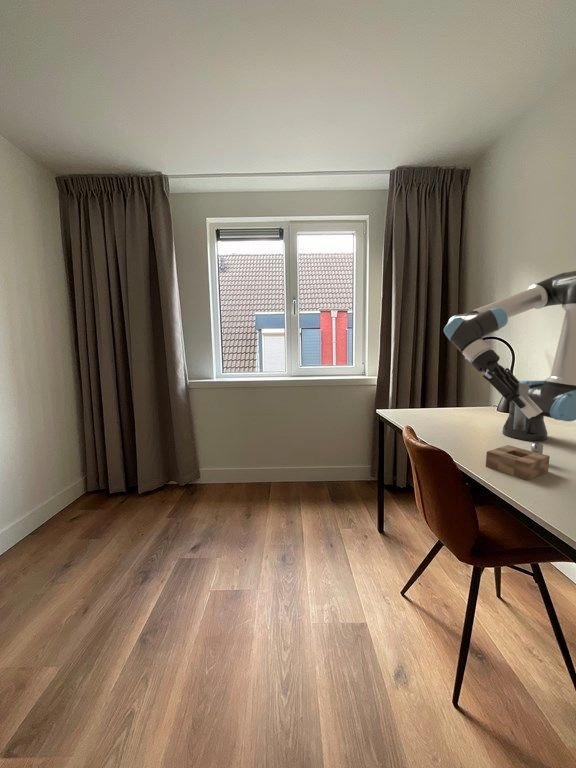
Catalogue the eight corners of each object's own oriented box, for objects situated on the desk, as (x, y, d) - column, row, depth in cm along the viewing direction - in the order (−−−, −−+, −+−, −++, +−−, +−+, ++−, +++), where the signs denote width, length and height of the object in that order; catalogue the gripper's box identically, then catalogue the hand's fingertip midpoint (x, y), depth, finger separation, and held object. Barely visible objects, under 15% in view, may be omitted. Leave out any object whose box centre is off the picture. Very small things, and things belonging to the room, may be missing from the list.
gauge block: (506, 459, 112) (507, 445, 111) (548, 471, 102) (549, 456, 101) (485, 466, 106) (486, 451, 105) (527, 480, 96) (528, 463, 95)
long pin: (516, 427, 104) (520, 383, 102) (527, 429, 101) (531, 384, 99) (511, 428, 103) (514, 383, 101) (522, 431, 100) (525, 384, 98)
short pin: (533, 459, 112) (534, 442, 111) (543, 462, 109) (545, 444, 108) (528, 461, 110) (530, 443, 109) (538, 464, 108) (540, 446, 107)
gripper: (484, 362, 116) (535, 418, 105) (459, 365, 107) (512, 426, 96) (502, 347, 111) (557, 404, 100) (477, 349, 102) (535, 411, 91)
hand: (535, 415), depth 98 cm, fingers closed on long pin, 3 cm apart
